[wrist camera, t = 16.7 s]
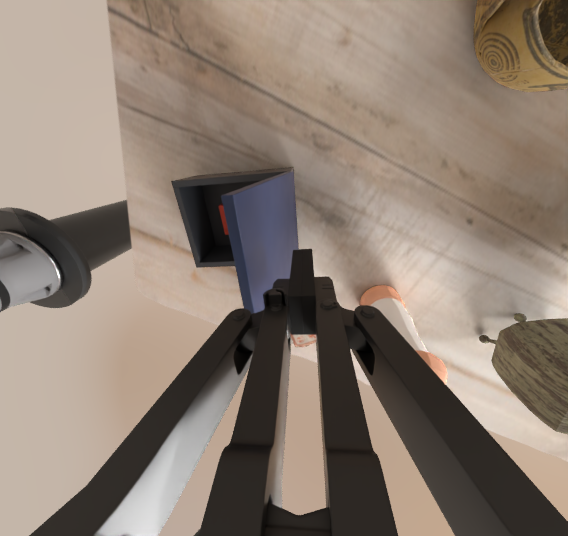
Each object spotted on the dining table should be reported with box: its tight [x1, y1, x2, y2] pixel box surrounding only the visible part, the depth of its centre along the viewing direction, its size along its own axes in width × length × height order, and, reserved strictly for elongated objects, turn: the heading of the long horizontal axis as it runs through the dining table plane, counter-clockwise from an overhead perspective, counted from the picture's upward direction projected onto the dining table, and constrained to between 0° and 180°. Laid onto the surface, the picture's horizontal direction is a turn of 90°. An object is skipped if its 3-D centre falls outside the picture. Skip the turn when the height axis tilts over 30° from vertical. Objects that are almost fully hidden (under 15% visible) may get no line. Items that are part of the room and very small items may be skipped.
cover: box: [221, 171, 298, 314], centre depth 23 cm, size 16×13×1 cm
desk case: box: [171, 167, 294, 267], centre depth 35 cm, size 16×13×8 cm
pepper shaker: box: [360, 285, 447, 384], centre depth 36 cm, size 7×7×19 cm
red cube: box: [219, 203, 229, 235], centre depth 35 cm, size 4×4×4 cm
